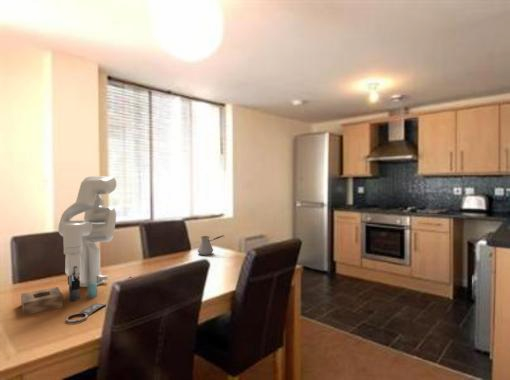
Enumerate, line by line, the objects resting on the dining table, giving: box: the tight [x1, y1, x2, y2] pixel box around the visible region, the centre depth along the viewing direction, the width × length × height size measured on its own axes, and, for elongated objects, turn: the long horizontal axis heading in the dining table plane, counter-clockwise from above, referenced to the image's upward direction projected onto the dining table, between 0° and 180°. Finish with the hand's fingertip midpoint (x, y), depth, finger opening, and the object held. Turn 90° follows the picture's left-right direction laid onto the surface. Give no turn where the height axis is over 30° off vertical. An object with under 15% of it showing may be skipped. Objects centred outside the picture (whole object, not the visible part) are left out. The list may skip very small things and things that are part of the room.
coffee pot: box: [197, 234, 225, 256], centre depth 239 cm, size 21×12×15 cm, turn 71°
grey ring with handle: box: [65, 302, 107, 325], centre depth 135 cm, size 8×19×2 cm, turn 168°
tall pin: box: [68, 276, 80, 302], centre depth 151 cm, size 4×4×13 cm
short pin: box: [87, 282, 98, 298], centre depth 155 cm, size 4×4×6 cm
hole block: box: [20, 287, 64, 316], centre depth 143 cm, size 14×14×5 cm
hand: (73, 286), depth 151 cm, fingers open, 9 cm apart
